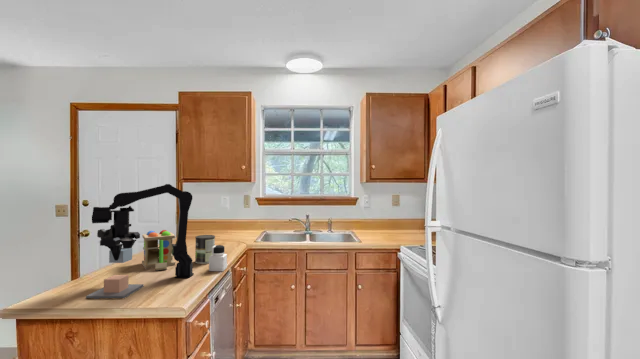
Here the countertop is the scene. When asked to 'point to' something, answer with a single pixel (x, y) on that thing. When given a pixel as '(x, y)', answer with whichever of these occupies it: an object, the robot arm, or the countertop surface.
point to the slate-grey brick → (121, 256)
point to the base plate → (122, 294)
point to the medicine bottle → (218, 259)
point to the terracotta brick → (116, 283)
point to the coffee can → (204, 248)
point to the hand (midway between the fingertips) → (120, 258)
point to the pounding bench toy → (158, 250)
